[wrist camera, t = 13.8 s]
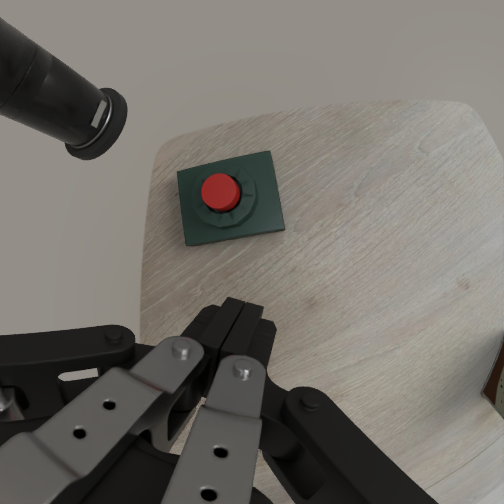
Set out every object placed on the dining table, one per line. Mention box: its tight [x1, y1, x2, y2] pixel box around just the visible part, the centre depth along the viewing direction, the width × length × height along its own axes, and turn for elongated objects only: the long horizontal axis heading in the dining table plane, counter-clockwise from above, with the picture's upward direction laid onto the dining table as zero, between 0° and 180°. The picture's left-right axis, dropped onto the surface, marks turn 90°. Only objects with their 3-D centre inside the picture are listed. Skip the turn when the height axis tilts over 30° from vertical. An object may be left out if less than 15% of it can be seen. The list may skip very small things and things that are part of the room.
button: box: [201, 173, 240, 211], centre depth 25 cm, size 3×3×2 cm
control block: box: [177, 150, 285, 246], centre depth 28 cm, size 10×8×4 cm
